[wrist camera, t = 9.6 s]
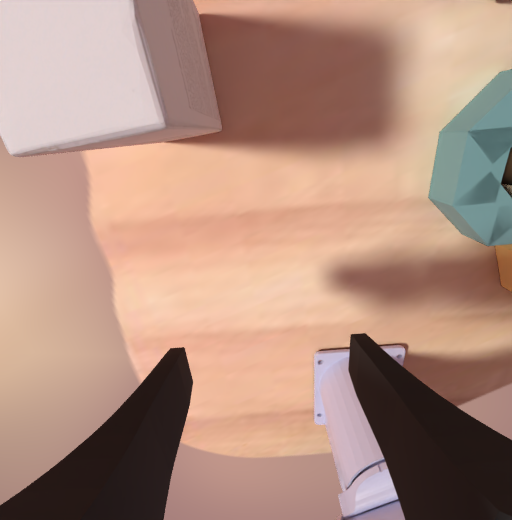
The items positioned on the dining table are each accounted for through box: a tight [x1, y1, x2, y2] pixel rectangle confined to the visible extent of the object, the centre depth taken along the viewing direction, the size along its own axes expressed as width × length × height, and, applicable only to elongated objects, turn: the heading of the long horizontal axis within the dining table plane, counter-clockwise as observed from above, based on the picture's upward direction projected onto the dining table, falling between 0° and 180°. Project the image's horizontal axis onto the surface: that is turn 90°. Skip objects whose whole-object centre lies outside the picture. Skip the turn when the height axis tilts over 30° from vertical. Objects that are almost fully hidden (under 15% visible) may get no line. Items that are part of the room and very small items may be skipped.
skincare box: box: [0, 0, 222, 157], centre depth 11 cm, size 6×4×12 cm
